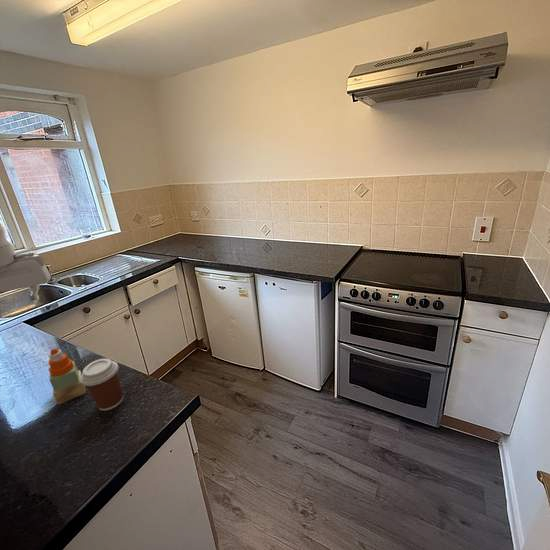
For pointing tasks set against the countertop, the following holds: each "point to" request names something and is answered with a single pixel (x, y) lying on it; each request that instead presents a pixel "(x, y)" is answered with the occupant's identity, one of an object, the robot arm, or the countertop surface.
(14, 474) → the countertop surface
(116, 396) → the coffee cup
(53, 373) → the cone
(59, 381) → the top block
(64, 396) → the base block
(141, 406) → the countertop surface
